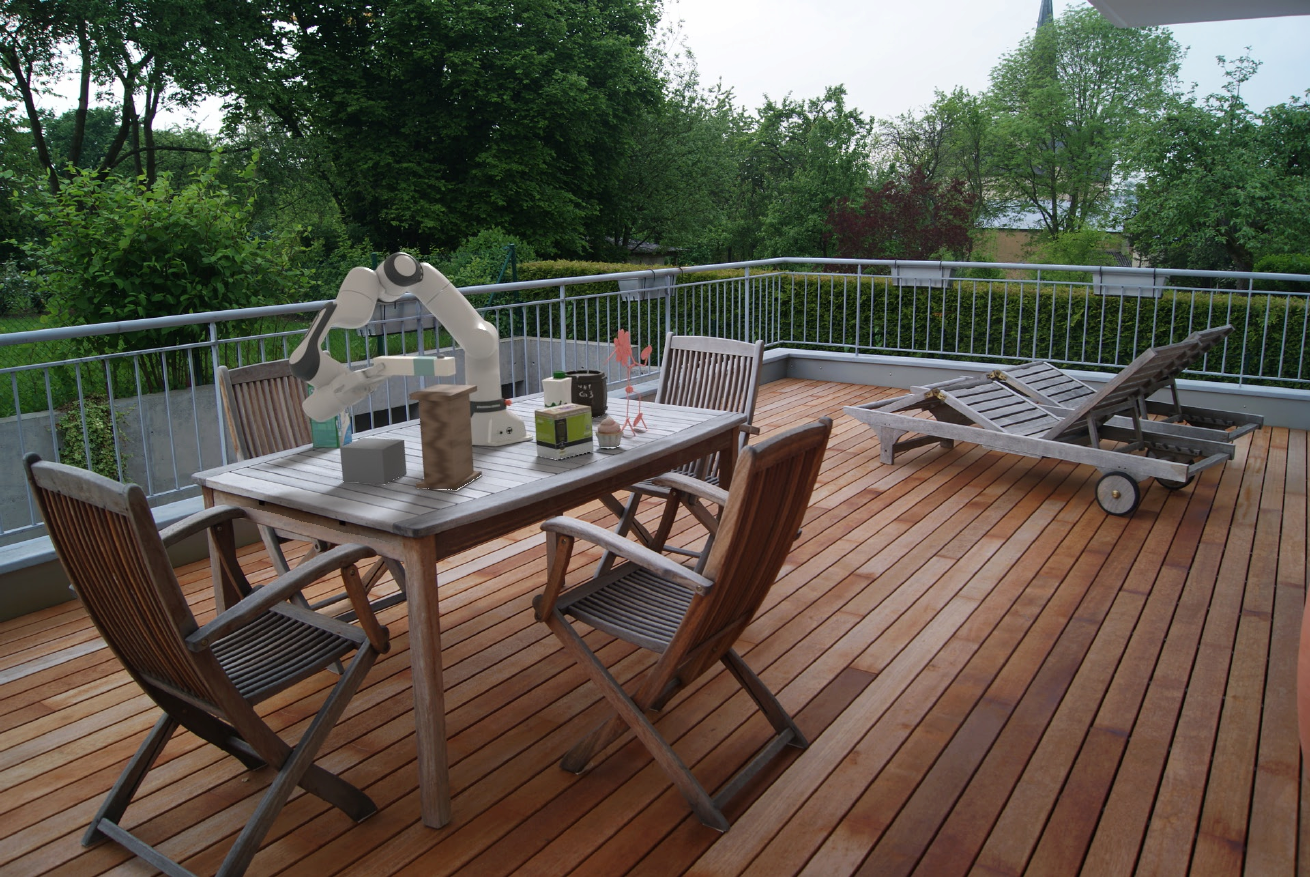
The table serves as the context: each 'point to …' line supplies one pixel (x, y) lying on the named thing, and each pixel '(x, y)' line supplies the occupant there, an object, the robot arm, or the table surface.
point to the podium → (373, 460)
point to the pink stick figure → (622, 355)
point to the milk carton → (331, 429)
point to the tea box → (563, 431)
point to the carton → (417, 365)
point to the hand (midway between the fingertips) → (388, 363)
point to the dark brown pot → (589, 390)
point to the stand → (446, 436)
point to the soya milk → (557, 390)
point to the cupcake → (609, 433)
